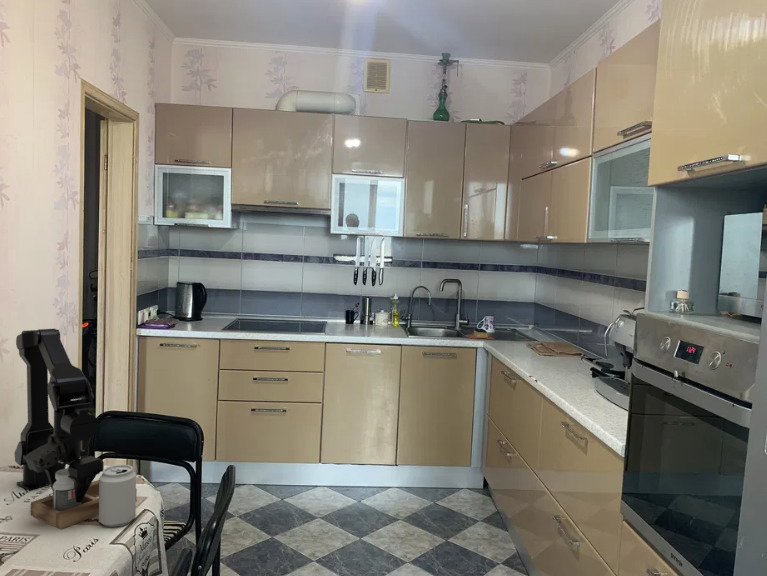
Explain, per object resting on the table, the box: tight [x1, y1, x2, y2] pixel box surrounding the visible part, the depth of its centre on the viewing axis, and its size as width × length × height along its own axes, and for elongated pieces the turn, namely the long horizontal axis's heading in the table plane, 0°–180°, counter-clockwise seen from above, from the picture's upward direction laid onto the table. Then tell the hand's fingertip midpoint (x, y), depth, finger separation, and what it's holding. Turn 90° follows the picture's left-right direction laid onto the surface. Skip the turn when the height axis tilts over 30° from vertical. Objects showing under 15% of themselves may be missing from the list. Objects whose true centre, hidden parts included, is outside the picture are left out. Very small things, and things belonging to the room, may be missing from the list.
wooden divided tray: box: [30, 479, 138, 530], centre depth 135 cm, size 12×18×3 cm, turn 149°
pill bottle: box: [52, 467, 81, 512], centre depth 131 cm, size 6×6×10 cm
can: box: [98, 464, 137, 528], centre depth 129 cm, size 8×8×12 cm
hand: (67, 497), depth 132 cm, fingers open, 9 cm apart
